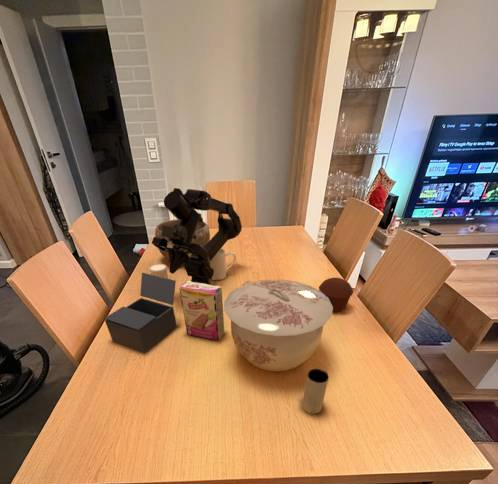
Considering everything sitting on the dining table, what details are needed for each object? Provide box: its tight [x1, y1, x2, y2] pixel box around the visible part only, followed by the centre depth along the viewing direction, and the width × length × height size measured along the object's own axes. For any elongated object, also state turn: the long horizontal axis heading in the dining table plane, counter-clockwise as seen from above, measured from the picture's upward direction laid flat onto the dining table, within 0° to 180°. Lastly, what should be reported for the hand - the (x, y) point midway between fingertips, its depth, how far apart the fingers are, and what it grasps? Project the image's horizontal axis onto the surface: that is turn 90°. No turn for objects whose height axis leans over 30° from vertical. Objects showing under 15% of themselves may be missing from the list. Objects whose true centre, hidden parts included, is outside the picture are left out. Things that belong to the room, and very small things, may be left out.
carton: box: [103, 297, 178, 354], centre depth 92 cm, size 15×13×8 cm
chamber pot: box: [223, 279, 333, 372], centre depth 80 cm, size 28×28×21 cm
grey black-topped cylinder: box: [301, 368, 330, 415], centre depth 68 cm, size 4×4×10 cm
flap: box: [139, 272, 177, 306], centre depth 93 cm, size 7×13×1 cm
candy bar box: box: [178, 280, 225, 342], centre depth 89 cm, size 11×5×16 cm, turn 71°
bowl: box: [154, 218, 211, 260], centre depth 135 cm, size 24×24×15 cm
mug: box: [210, 248, 237, 281], centre depth 123 cm, size 12×8×10 cm, turn 98°
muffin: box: [318, 277, 354, 314], centre depth 103 cm, size 12×11×10 cm
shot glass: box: [148, 263, 169, 279], centre depth 118 cm, size 7×7×7 cm
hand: (171, 273), depth 97 cm, fingers closed
